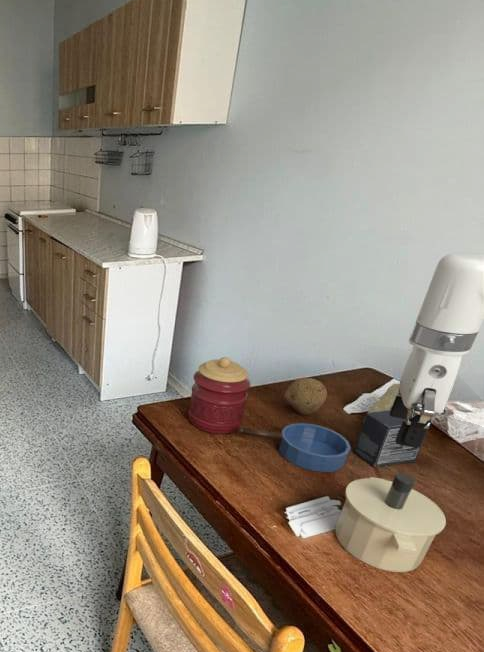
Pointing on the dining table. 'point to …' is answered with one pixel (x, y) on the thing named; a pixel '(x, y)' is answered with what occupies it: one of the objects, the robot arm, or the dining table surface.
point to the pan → (314, 447)
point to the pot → (379, 543)
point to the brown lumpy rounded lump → (306, 395)
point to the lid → (395, 506)
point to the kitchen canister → (218, 396)
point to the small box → (383, 440)
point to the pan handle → (260, 433)
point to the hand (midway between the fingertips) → (403, 430)
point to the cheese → (386, 400)
